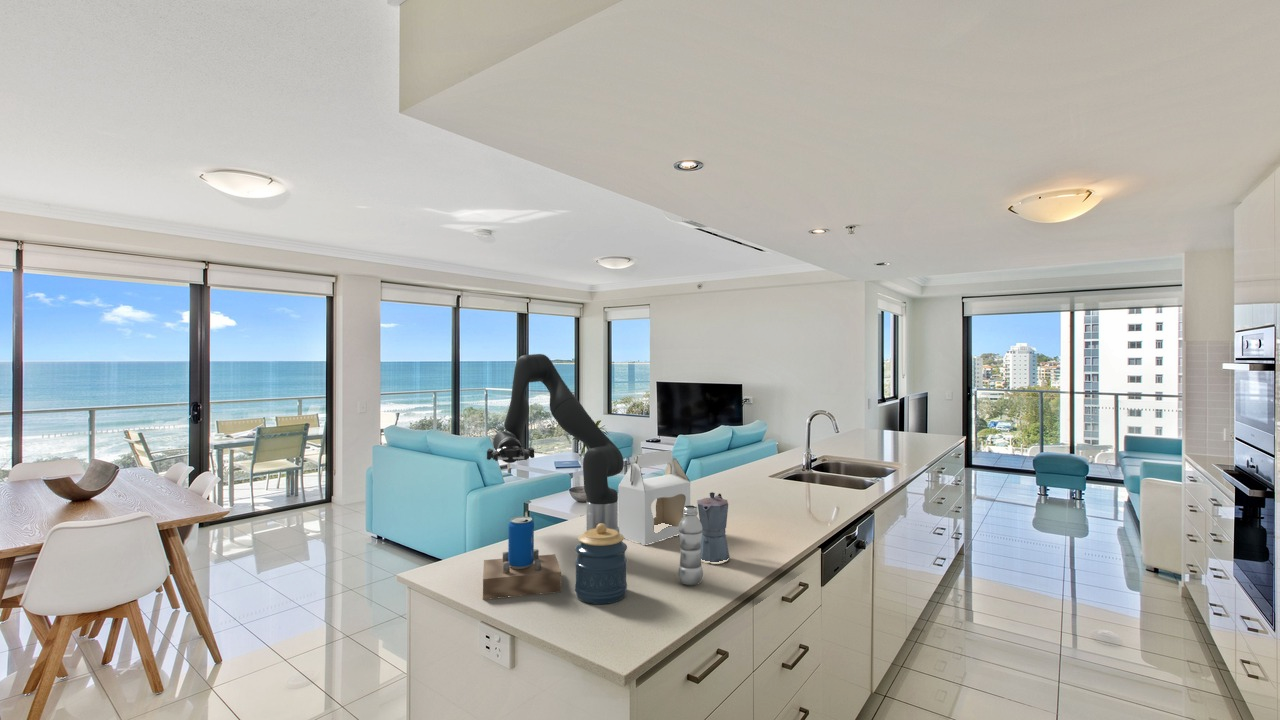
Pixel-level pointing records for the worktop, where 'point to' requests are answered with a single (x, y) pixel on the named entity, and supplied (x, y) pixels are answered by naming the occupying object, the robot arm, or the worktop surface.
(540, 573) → the peg board
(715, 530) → the moka pot
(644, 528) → the gable box
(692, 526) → the plastic bottle
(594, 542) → the canister
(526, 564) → the beverage can
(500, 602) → the worktop surface
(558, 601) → the worktop surface
